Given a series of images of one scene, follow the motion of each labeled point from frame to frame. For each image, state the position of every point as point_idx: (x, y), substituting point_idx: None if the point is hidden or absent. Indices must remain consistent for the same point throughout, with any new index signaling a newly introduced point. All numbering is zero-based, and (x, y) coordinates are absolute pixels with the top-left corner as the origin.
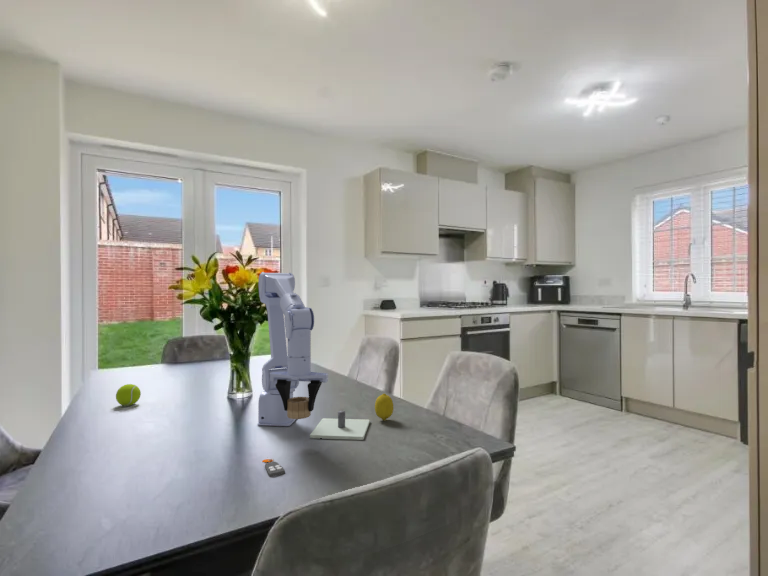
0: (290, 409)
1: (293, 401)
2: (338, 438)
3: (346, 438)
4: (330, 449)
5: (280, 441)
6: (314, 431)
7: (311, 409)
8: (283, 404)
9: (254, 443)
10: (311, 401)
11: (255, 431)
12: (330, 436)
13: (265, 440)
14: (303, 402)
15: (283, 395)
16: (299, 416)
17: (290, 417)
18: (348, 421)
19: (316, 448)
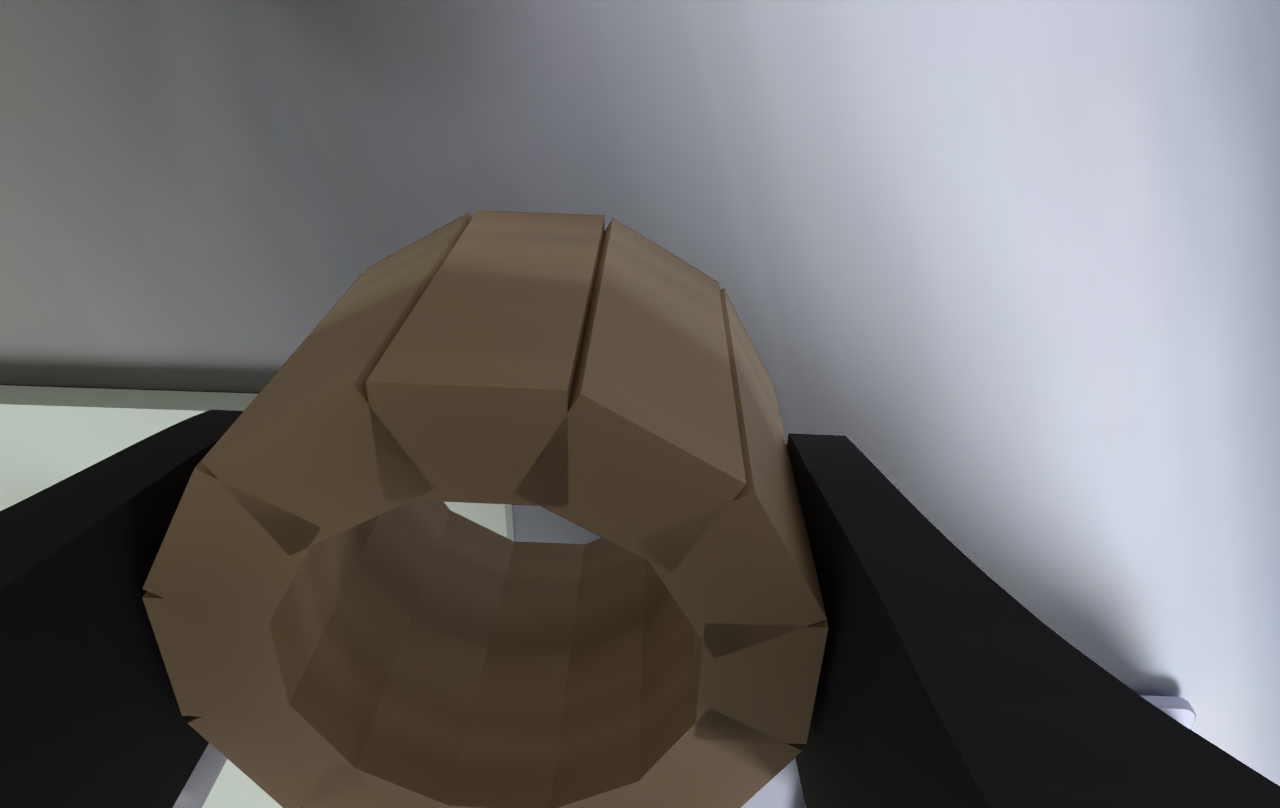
0: (668, 336)
1: (591, 515)
2: (157, 392)
3: (62, 393)
4: (100, 57)
5: (841, 289)
6: (485, 524)
7: (174, 429)
8: (909, 502)
9: (1177, 204)
10: (2, 519)
11: (1193, 558)
12: (245, 406)
13: (1040, 310)
14: (228, 446)
15: (994, 671)
16: (442, 238)
17: (667, 259)
18: (234, 772)
19: (299, 80)
